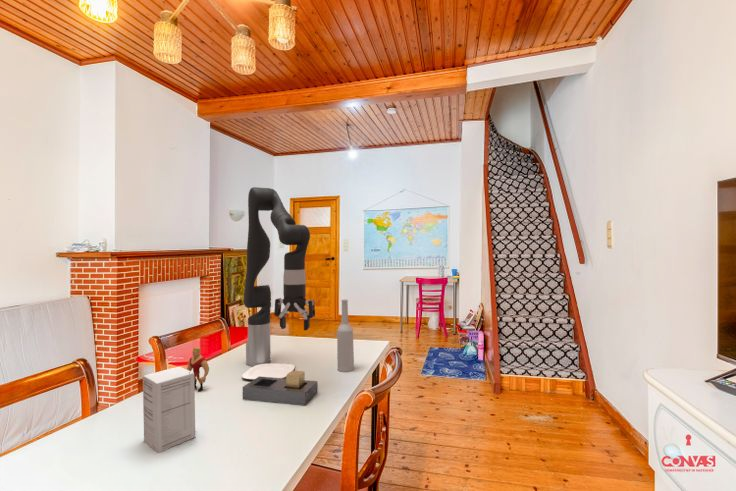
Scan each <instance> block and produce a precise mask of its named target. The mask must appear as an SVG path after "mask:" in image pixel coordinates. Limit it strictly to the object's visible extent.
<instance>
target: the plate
mask: <svg viewBox="0 0 736 491" xmlns="http://www.w3.org/2000/svg"><path fill="white" fill-rule="evenodd" d="M295 368H296V367H295V365H294V364H291V363H269V364H259V365H256V366H251V367H250V368H248V369H247V370H246V371H245V372H244V373H243V374H242V375H241V377H242V379H245V380H247V381H249V380H250V381H253V380H254V379H256V378H257V377H259V376H260V377H272V378H284V379H286V375H287V374H288V373H290V372H291V371H295Z"/></svg>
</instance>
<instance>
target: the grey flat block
mask: <svg viewBox="0 0 736 491" xmlns="http://www.w3.org/2000/svg"><path fill="white" fill-rule="evenodd" d="M241 388H242V400H244V401H257V402H265V403H276V404H284V405H285V404H287V405H295V406H303V407H304V406H306V405H307V404H309V402H310V401H311V400H313V399H314V397H315V396H317V395H318V391H319V390H318V380H307V379H305V386H304V387H303V388H302V389H288V388H286V378H272V377H260V376H259V377H257V378H256V379H254V380H250V382H247V384H245V385H244V386H242V387H241Z"/></svg>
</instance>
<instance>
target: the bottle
mask: <svg viewBox="0 0 736 491" xmlns="http://www.w3.org/2000/svg"><path fill="white" fill-rule="evenodd" d="M340 301H341V322H340V324H339V327H338V328H337V332H336V336H337V337H336V339H337V340H336V341H337V342H336V343H337V354H336V356H337V358H336V359H337V371H339V372H340V373H348V372H353V371H354V370H355V360H354V359H355V358H354V357H355V355H354V329H353V326H352V325H351V324H350V323H349V306H348V305H349V304H348V303H349V302H348V301H349V300H348V299H341V300H340Z"/></svg>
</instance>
